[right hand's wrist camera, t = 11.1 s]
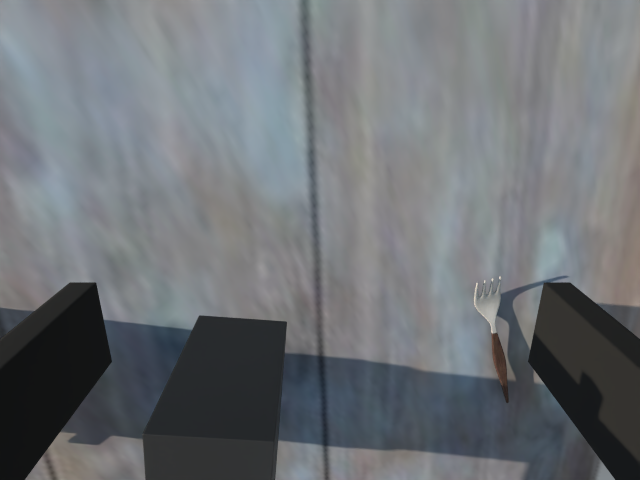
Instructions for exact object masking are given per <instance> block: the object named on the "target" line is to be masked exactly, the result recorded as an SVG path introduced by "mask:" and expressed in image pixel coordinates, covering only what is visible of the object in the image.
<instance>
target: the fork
mask: <svg viewBox="0 0 640 480" xmlns="http://www.w3.org/2000/svg"><path fill="white" fill-rule="evenodd" d="M500 283H501V276H500V277H499V281H498V285H497V289H496V292H495V293H493V278H492V281H491V285H490V289H489V293H488V294H487V295H486V290H485V284H486V281H485V280H484V284H483V289H482V294H481V296H478V282H477V284H476V289H475V296H474V305H475V307H476V309H477V310H478V311H479V312H480V313H481V314H482V315H483V316H484V317H485V318H486V319H487V320H488V321H489V323H490V325H491V331H492V351H493V360H494V364H495V368H496V371H497V373H498V376H499V379H500V382H501V386H502V389H503V393H504V396H505V399H506V402H507V403H508V402H509V400H508V386H507V369H506V360H505V356H504V352H503V349H502V346H501V343H500V340H499V337H498V334H497V331H496V327H495V319H496V315H497V312H498V309H499V306H500V301H501V293H500Z"/></svg>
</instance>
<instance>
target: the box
mask: <svg viewBox="0 0 640 480" xmlns="http://www.w3.org/2000/svg"><path fill="white" fill-rule="evenodd" d="M286 327H287V322H284V321H270V320H256V319H241V318H227V317H213V316H199V317H198V319H197V321H196V323H195V326H194V328H193V330H192V332H191V334H190V336H189V338H188V340H187V342H186V344H185V347H184V349H183V351H182V353H181V355H180V357H179V359H178V361H177V363H176V365H175V368H174V370H173V372H172V374H171V376H170V378H169V380H168V382H167V384H166V386H165V388H164V391H163V393H162V395H161V397H160V399H159V401H158V403H157V405H156V407H155V409H154V412H153V414H152V416H151V418H150V420H149V422H148V424H147V426H146V428H145V430H144V433H143V448H144V463H145V479H146V480H275V474H276V461H277V447H278V434H279V421H280V407H281V394H282V381H283V367H284V354H285V341H286Z"/></svg>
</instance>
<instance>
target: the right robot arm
mask: <svg viewBox="0 0 640 480" xmlns="http://www.w3.org/2000/svg"><path fill="white" fill-rule="evenodd" d="M111 362H112V360H111V355H110V350H109V345H108V340H107V335H106V330H105V325H104V320H103V315H102V310H101V305H100V300H99V295H98V290H97V285H96V283H69V284H68V285H66V286H65V287H64V288H63V289H61V290H60V291H59V292H58V293H57V294H55V295H54V296H53V297H52V298H50V299H49V300H48V301H47V302H45V303H44V304H43V305H42V306H40V307H39V308H38V309H37V310H36V311H34V312H33V313H32V314H31V315H29V316H28V317H27V318H26V319H24V320H23V321H22V322H21V323H20V324H18V325H17V326H16V327H15V328H13V329H12V330H11V331H10V332H8V333H7V334H6V335H5V336H4V337H2V338H1V339H0V480H25V479H26V477H27V476H28V474H29V473H30V472H31V470H32V469H33V468H34V466H35V465H36V464H37V462H38V461H39V460H40V458H41V457H42V456H43V454H44V453H45V451H46V450H47V449H48V447H49V446H50V445H51V443H52V442H53V441H54V439H55V438H56V437H57V435H58V434H59V432H60V431H61V430H62V428H63V427H64V426H65V424H66V423H67V422H68V420H69V419H70V418H71V416H72V415H73V414H74V412H75V411H76V409H77V408H78V407H79V405H80V404H81V403H82V401H83V400H84V399H85V397H86V396H87V395H88V393H89V392H90V390H91V389H92V388H93V386H94V385H95V384H96V382H97V381H98V380H99V378H100V377H101V376H102V374H103V373H104V372H105V370H106V369H107V367H108V366H109V365H110V363H111ZM528 362H529V363H530V365H531V366H532V367H533V369H534V370H535V372H536V373H537V374H538V376H539V377H540V378H541V380H542V381H543V382H544V384H545V385H546V386H547V388H548V389H549V391H550V392H551V393H552V395H553V396H554V397H555V399H556V400H557V401H558V403H559V404H560V405H561V407H562V408H563V409H564V411H565V412H566V414H567V415H568V416H569V418H570V419H571V420H572V422H573V423H574V424H575V426H576V427H577V428H578V430H579V431H580V432H581V434H582V435H583V437H584V438H585V439H586V441H587V442H588V443H589V445H590V446H591V447H592V449H593V450H594V451H595V453H596V454H597V456H598V457H599V458H600V460H601V461H602V462H603V464H604V465H605V466H606V468H607V469H608V470H609V472H610V473H611V474H612V476H613V477H614V478H615V480H640V339H639V338H638V337H636V336H635V335H634V334H633V333H632V332H630V331H629V330H628V329H627V328H625V327H624V326H623V325H622V324H620V323H619V322H618V321H617V320H616V319H614V318H613V317H612V316H611V315H609V314H608V313H607V312H606V311H604V310H603V309H602V308H601V307H600V306H598V305H597V304H596V303H595V302H593V301H592V300H591V299H590V298H588V297H587V296H586V295H585V294H583V293H582V292H581V291H580V290H579V289H577V288H576V287H575V286H574V285H572V284H571V283H544V285H543V290H542V295H541V300H540V305H539V310H538V315H537V320H536V325H535V330H534V335H533V340H532V345H531V350H530V355H529V360H528Z"/></svg>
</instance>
